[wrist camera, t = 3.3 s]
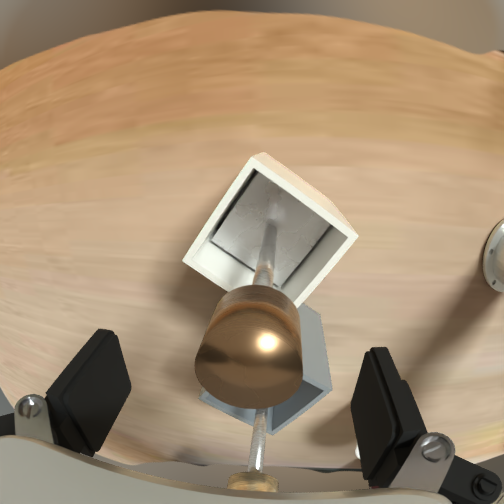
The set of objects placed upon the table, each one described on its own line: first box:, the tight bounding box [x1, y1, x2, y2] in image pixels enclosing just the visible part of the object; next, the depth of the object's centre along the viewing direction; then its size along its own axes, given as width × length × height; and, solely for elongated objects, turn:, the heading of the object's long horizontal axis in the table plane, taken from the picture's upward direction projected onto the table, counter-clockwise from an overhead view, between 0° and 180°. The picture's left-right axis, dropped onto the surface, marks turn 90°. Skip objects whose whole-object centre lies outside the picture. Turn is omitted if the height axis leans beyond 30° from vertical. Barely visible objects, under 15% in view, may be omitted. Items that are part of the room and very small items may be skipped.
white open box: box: [182, 152, 359, 308], centre depth 31 cm, size 10×10×15 cm
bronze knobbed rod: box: [195, 172, 331, 409], centre depth 20 cm, size 8×8×19 cm
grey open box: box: [198, 303, 332, 435], centre depth 36 cm, size 10×10×15 cm
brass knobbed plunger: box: [227, 408, 279, 492], centre depth 25 cm, size 8×8×19 cm
